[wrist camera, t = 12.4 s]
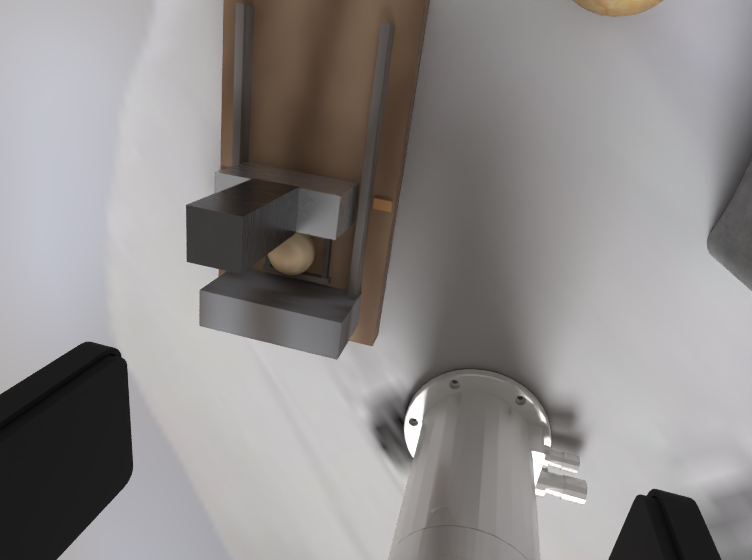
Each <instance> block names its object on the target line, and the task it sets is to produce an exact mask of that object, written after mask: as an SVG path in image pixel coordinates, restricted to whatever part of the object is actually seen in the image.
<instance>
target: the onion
mask: <svg viewBox="0 0 752 560" xmlns="http://www.w3.org/2000/svg"><path fill="white" fill-rule="evenodd" d="M573 1H574V2H575V3H577V4H578V5H579V6H581V7H582V8H584V9H586V10H588V11H591V12H593V13H596V14H599V15H603V16H612V17H617V16H628V15H633V14H637V13H640V12H643V11H645V10H648V9H650V8H652V7H654V6H655V5H657V4H658V3H660V2H661V1H663V0H573Z"/></svg>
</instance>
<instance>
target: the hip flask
mask: <svg viewBox="0 0 752 560" xmlns="http://www.w3.org/2000/svg"><path fill="white" fill-rule="evenodd" d="M707 247H708V250H709V253H710V254H711V255H712V256H713V257H714V258H715V259H716V260H717V261H718V262H720V263H721V264H722V265H723V266H724V267H725V268H726V269H727V270H729V271H730V272H731V273H732V274H733V275H734V276H735V277H737V278H738V279H739V280H740V281H741V282H742V283H743V284H745V285H746V286H747V287H748V288H749V289H750V290H751V291H752V157H751V160H750V162H749V164H748V167H747V169H746V171H745V173H744V175H743V177H742V179H741V181H740V183H739V185H738V187H737V189H736V191H735V193H734V195H733V197H732V199H731V200H730V202H729V204H728V206H727V208H726V209H725V211H724V212H723V214H722V216H721V217H720V219H719V220H718V222H717V223H716V225H715V226H714V228H713V229H712V231H711V233H710V234H709V237H708V240H707Z"/></svg>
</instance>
